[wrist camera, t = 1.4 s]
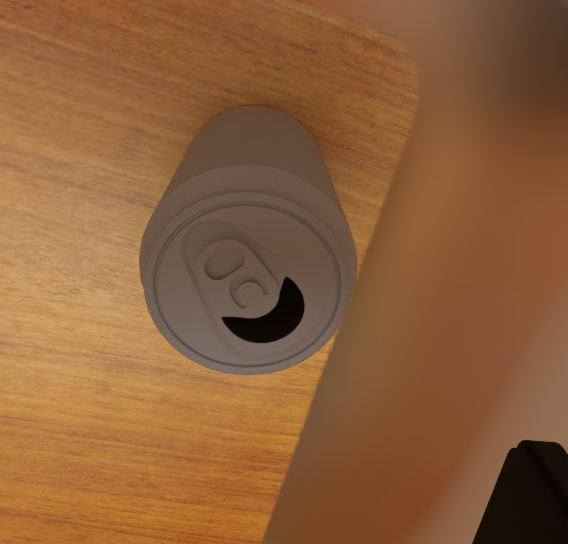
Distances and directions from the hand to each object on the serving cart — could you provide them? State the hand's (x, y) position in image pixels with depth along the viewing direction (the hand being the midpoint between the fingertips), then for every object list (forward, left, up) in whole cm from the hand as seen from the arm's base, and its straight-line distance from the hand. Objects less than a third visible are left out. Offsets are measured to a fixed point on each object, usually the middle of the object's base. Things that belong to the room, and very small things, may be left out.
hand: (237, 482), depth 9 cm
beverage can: (0, 0, -18) cm, 18 cm away
